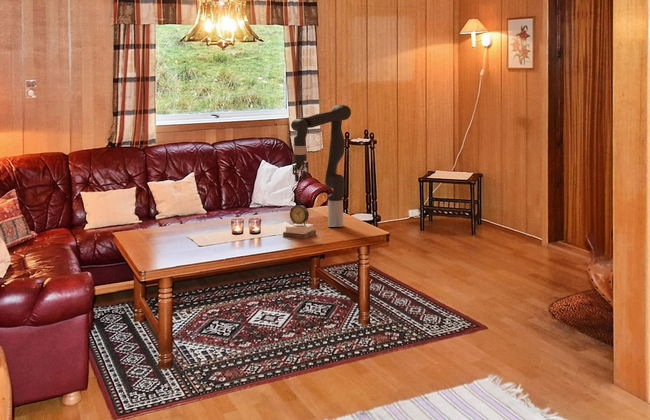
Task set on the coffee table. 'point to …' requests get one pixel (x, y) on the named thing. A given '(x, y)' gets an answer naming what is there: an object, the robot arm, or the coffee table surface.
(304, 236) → the walnut slab
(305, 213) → the alarm clock
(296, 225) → the cream slab
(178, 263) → the coffee table surface
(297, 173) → the robot arm
